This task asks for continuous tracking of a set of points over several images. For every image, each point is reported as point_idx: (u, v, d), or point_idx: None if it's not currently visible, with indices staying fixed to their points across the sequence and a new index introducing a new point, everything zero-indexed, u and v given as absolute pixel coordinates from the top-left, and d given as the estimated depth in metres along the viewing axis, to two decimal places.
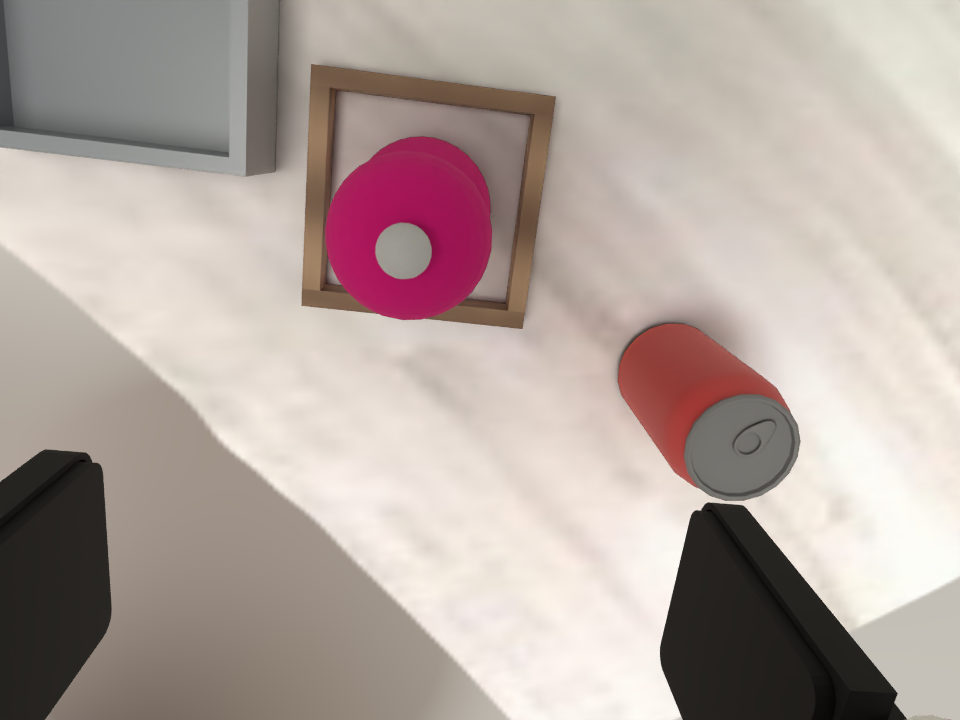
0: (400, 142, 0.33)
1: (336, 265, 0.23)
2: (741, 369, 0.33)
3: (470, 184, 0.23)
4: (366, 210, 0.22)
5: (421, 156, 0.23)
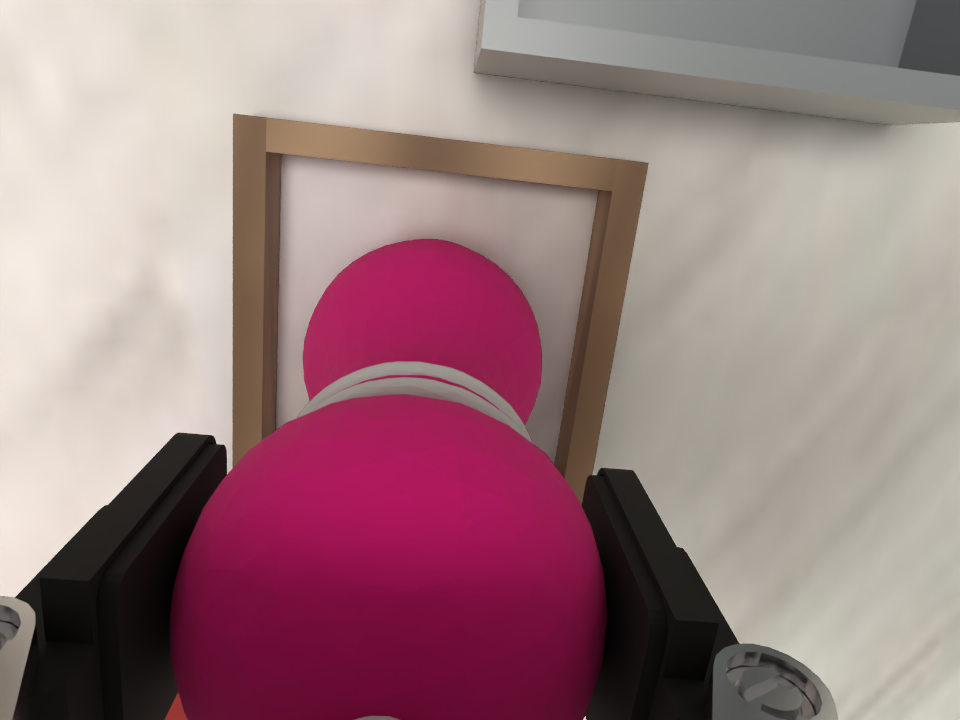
0: (537, 337, 0.19)
1: (310, 505, 0.07)
2: None
3: None
4: (485, 632, 0.07)
5: None
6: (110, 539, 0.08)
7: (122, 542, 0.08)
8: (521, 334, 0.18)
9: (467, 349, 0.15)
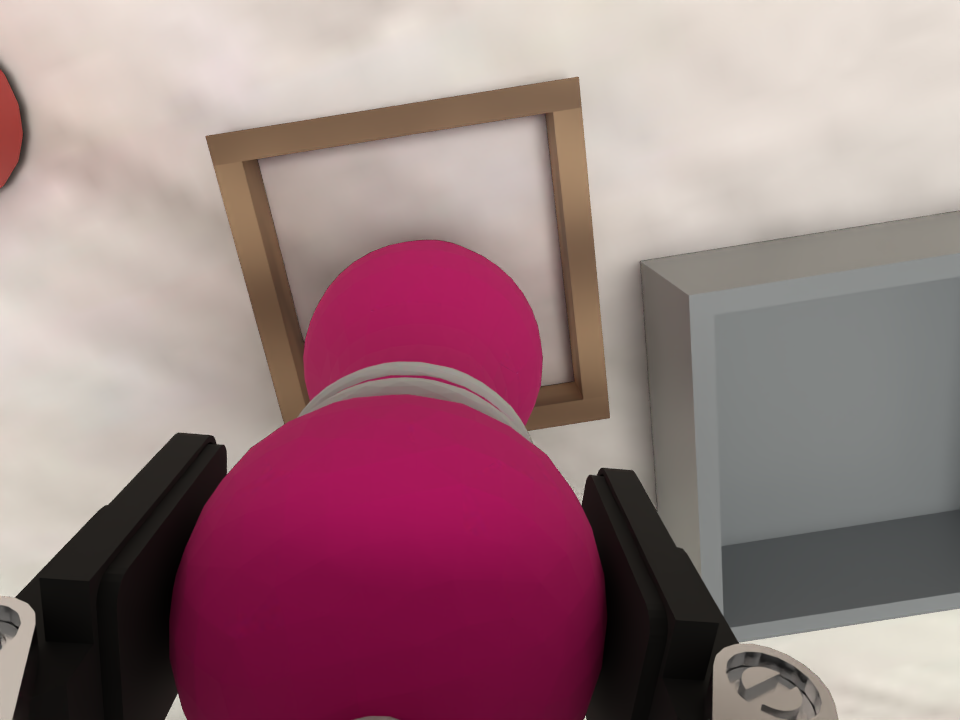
0: (538, 339, 0.19)
1: (312, 504, 0.07)
2: None
3: None
4: (486, 634, 0.07)
5: None
6: (110, 539, 0.08)
7: (121, 542, 0.08)
8: (522, 335, 0.18)
9: (469, 350, 0.15)
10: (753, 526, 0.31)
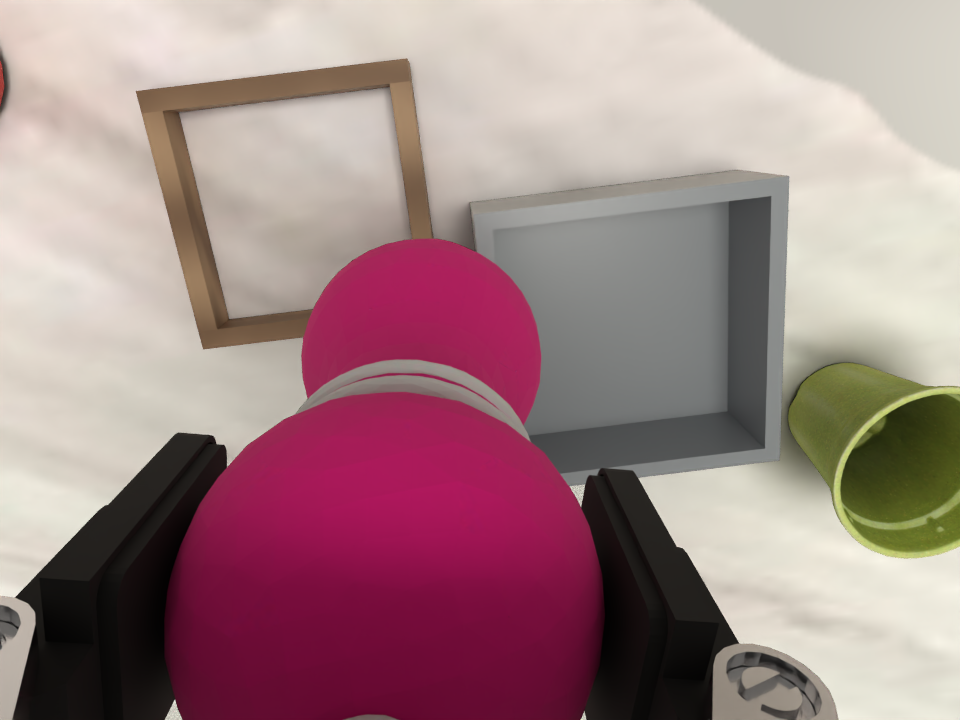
0: (536, 338, 0.19)
1: (308, 501, 0.07)
2: None
3: None
4: (481, 633, 0.07)
5: None
6: (110, 539, 0.08)
7: (121, 542, 0.08)
8: (521, 334, 0.18)
9: (466, 349, 0.15)
10: (566, 418, 0.40)
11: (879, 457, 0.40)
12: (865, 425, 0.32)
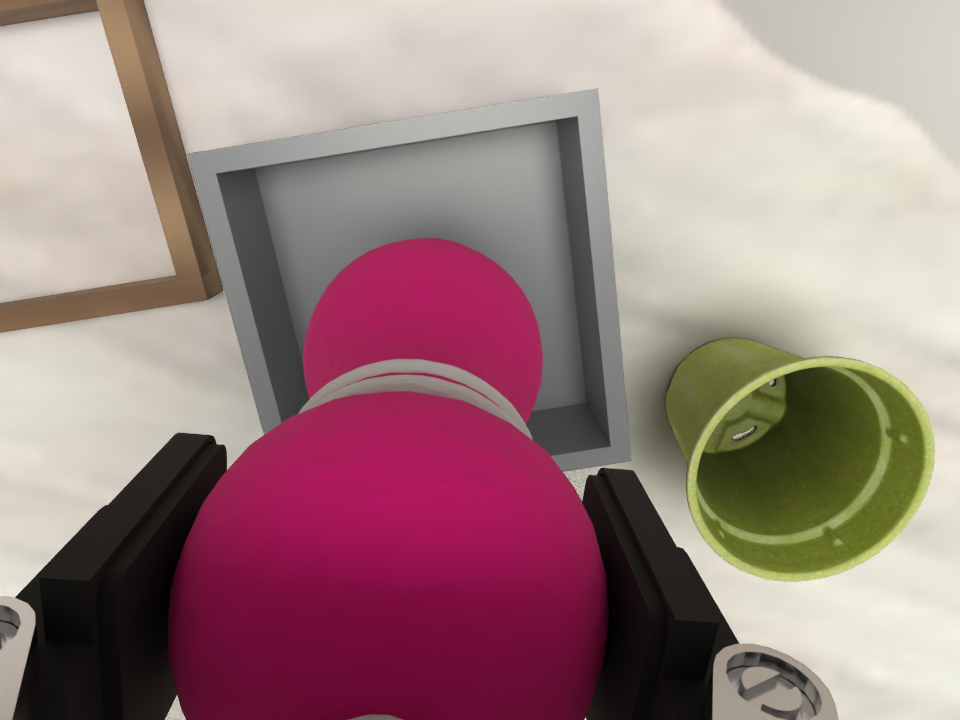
0: (538, 338, 0.19)
1: (311, 500, 0.07)
2: None
3: None
4: (487, 632, 0.07)
5: None
6: (110, 539, 0.08)
7: (121, 542, 0.08)
8: (523, 333, 0.18)
9: (469, 348, 0.15)
10: None
11: (777, 453, 0.33)
12: (718, 411, 0.24)
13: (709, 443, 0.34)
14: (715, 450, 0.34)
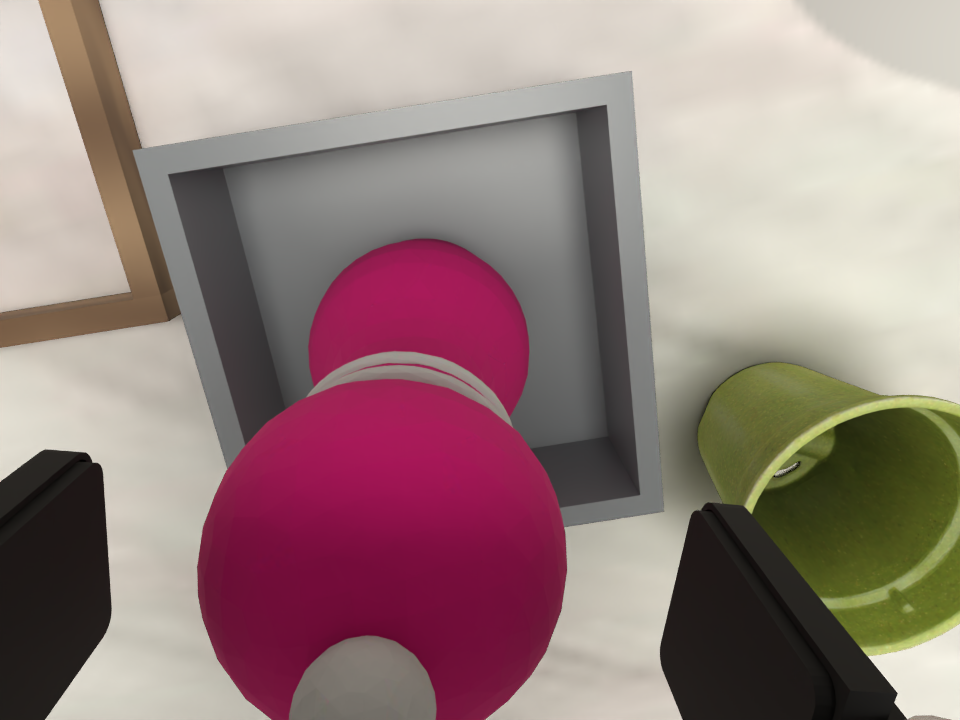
0: (525, 333, 0.21)
1: (319, 465, 0.09)
2: None
3: None
4: (459, 573, 0.09)
5: None
6: None
7: None
8: (510, 329, 0.20)
9: (459, 343, 0.17)
10: None
11: (826, 494, 0.28)
12: (775, 461, 0.20)
13: None
14: None
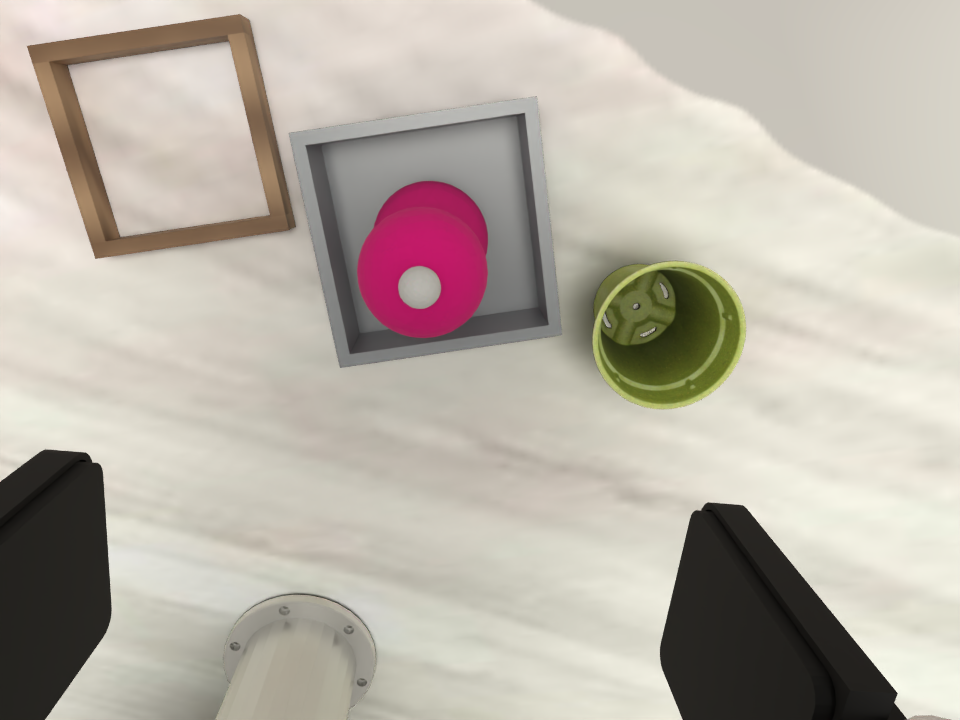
0: (484, 228, 0.41)
1: (404, 222, 0.29)
2: None
3: (463, 323, 0.31)
4: (448, 254, 0.28)
5: (484, 289, 0.30)
6: None
7: None
8: (476, 223, 0.39)
9: None
10: None
11: (667, 343, 0.48)
12: (610, 294, 0.40)
13: (623, 338, 0.49)
14: (628, 343, 0.49)
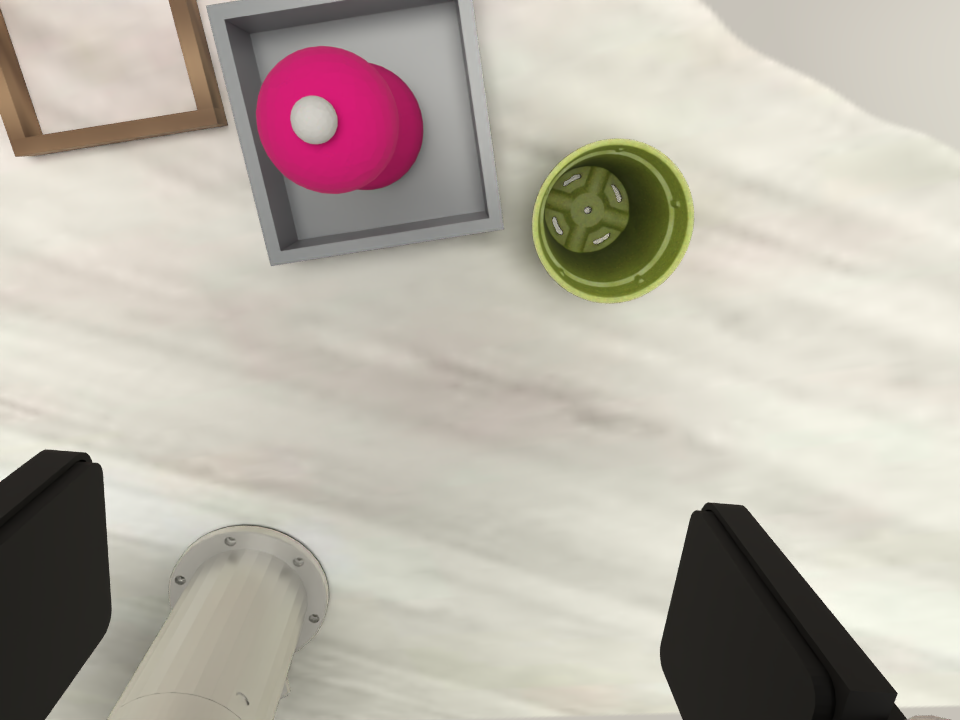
0: (417, 111, 0.39)
1: (301, 56, 0.27)
2: None
3: (373, 176, 0.29)
4: (347, 88, 0.26)
5: (393, 136, 0.28)
6: None
7: None
8: (405, 101, 0.37)
9: None
10: (344, 220, 0.46)
11: (620, 247, 0.46)
12: (548, 176, 0.38)
13: (575, 244, 0.47)
14: (580, 251, 0.47)
